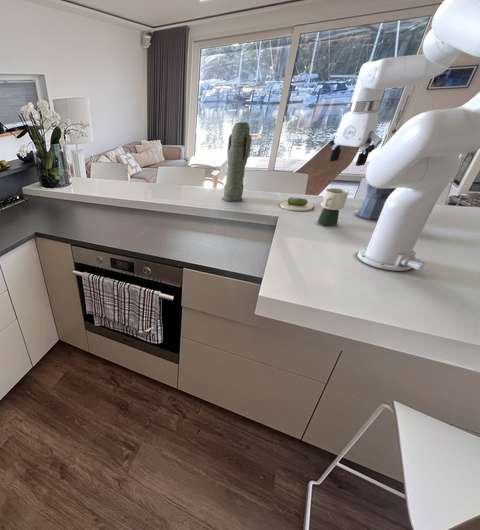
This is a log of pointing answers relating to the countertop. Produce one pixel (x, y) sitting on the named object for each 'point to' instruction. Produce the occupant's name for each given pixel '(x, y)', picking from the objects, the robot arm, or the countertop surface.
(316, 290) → the countertop surface
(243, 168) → the green cactus figure
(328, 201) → the character mug
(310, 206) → the plate
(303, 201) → the pickle
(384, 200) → the moka pot
